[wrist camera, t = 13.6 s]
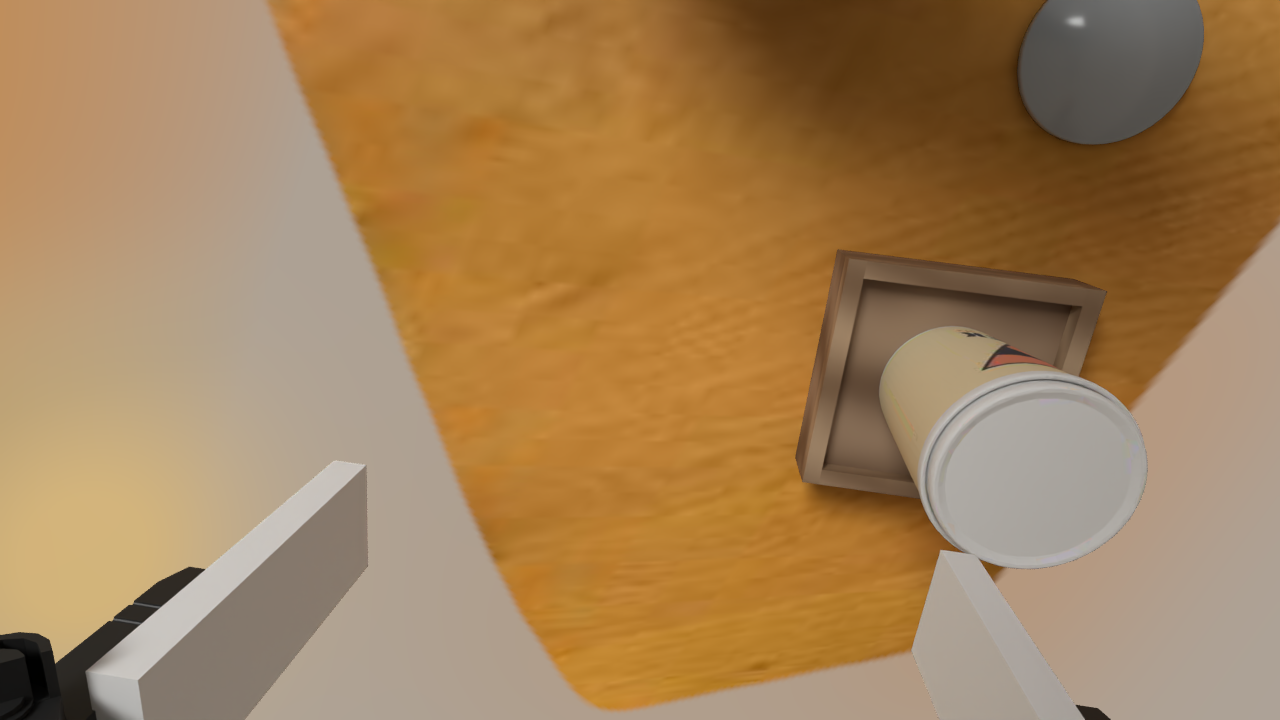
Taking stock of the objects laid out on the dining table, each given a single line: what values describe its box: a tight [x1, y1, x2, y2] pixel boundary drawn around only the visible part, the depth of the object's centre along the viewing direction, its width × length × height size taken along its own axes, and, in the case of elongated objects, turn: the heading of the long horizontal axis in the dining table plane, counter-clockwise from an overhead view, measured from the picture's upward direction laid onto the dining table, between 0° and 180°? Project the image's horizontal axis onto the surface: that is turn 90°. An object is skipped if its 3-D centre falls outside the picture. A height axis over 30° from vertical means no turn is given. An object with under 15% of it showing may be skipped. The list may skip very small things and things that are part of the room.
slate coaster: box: [1017, 0, 1204, 144], centre depth 36 cm, size 9×9×1 cm
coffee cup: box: [879, 326, 1148, 569], centre depth 35 cm, size 9×9×12 cm
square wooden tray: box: [795, 250, 1107, 499], centre depth 41 cm, size 14×14×4 cm
